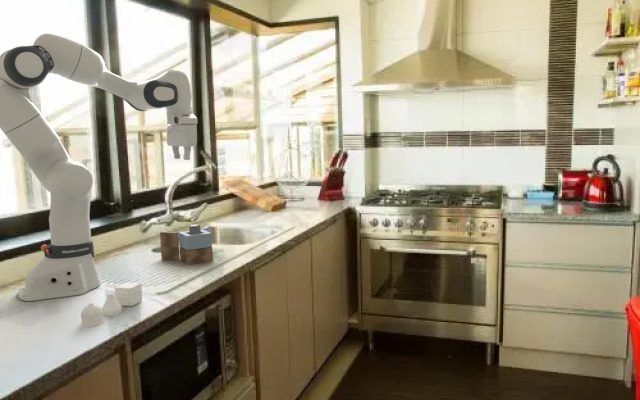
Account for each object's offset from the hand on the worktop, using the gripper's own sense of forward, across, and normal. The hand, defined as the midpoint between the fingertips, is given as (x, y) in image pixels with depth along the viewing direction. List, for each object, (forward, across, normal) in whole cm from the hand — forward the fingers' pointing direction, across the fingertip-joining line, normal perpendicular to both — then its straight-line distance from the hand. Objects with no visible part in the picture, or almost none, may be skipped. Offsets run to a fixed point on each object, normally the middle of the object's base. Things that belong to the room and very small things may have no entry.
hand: (182, 159), depth 181 cm
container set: (+38, +37, -34) cm, 63 cm away
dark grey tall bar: (+37, -2, +4) cm, 37 cm away
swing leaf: (+37, -5, +7) cm, 38 cm away
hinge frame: (+37, -5, +1) cm, 37 cm away
